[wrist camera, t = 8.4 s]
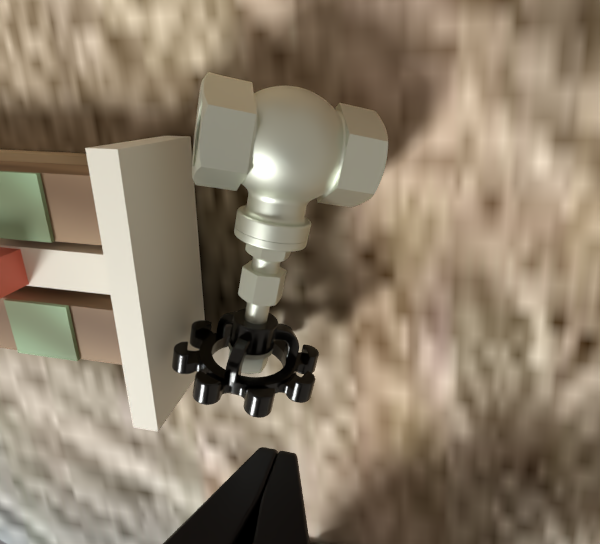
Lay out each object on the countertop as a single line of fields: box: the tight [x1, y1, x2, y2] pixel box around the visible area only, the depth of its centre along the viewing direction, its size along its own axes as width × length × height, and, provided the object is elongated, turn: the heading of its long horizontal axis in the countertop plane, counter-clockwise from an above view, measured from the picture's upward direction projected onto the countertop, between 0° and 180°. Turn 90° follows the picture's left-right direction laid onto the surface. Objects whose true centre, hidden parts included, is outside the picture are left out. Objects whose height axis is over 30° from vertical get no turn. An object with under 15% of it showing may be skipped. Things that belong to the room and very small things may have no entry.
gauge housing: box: [0, 149, 122, 365], centre depth 21 cm, size 10×11×4 cm
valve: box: [172, 72, 388, 417], centre depth 17 cm, size 7×7×12 cm
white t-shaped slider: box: [0, 136, 205, 431], centre depth 20 cm, size 12×12×6 cm
